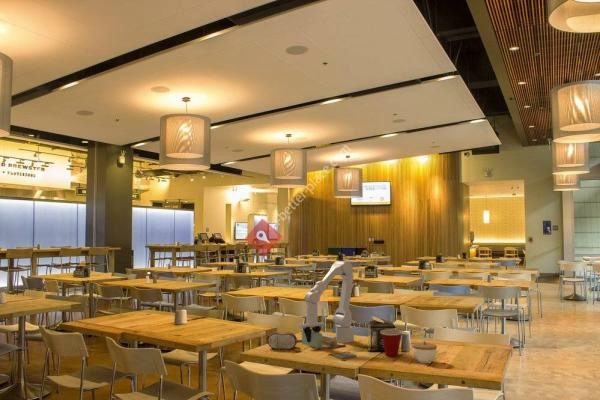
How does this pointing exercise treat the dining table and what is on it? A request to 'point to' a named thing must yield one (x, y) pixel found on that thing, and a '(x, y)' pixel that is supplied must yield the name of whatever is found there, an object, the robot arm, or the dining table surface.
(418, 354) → the lidded jar
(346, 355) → the mat
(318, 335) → the pale green block
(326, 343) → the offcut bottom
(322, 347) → the rack
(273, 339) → the tin
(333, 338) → the offcut top
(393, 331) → the plastic cup
